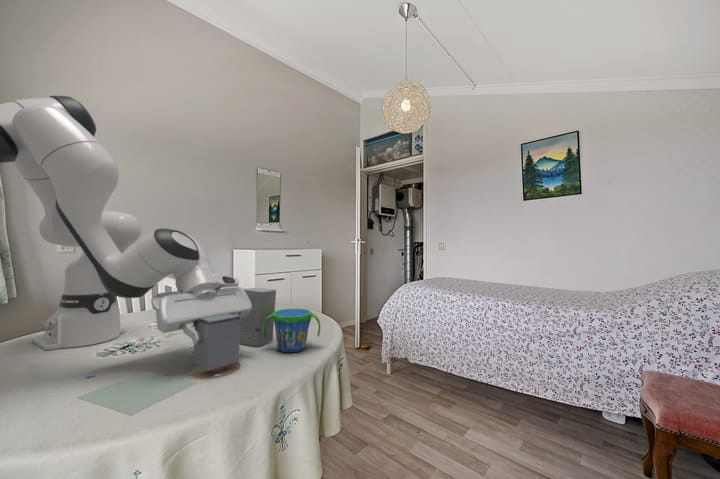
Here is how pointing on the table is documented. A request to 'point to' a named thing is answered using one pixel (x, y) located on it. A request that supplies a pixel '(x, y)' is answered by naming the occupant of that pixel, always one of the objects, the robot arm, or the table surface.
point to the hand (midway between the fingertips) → (218, 337)
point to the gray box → (217, 341)
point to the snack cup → (291, 328)
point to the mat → (137, 392)
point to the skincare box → (258, 317)
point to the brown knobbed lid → (215, 371)
